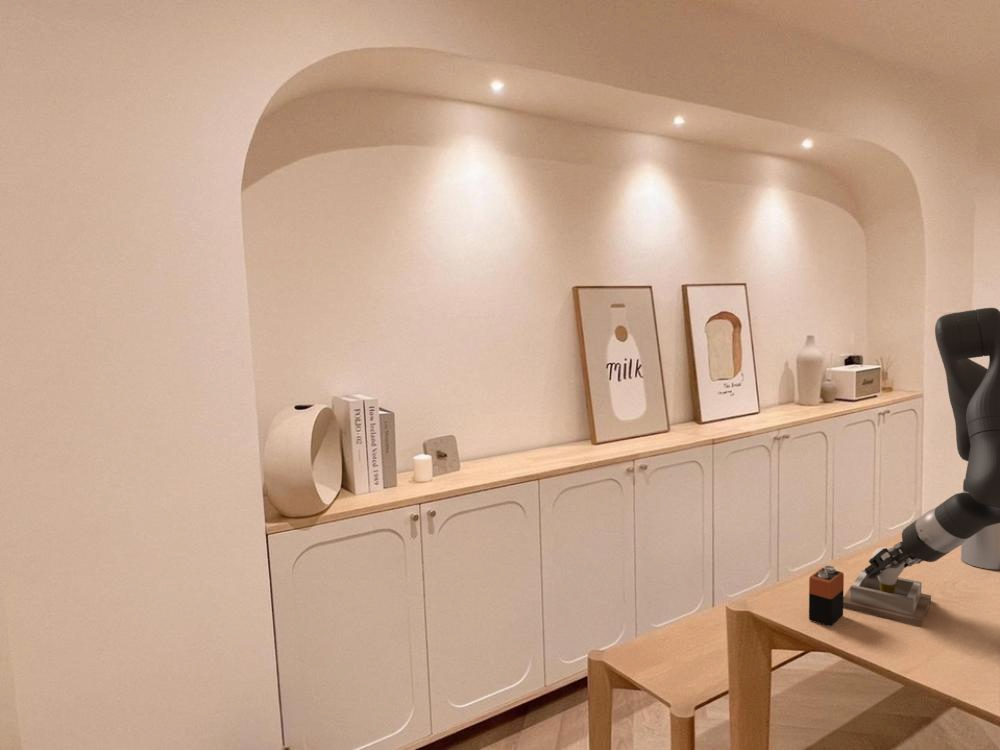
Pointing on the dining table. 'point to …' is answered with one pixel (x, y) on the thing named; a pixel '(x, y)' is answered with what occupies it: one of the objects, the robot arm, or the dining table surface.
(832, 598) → the battery
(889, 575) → the light bulb
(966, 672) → the dining table surface
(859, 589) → the frame
